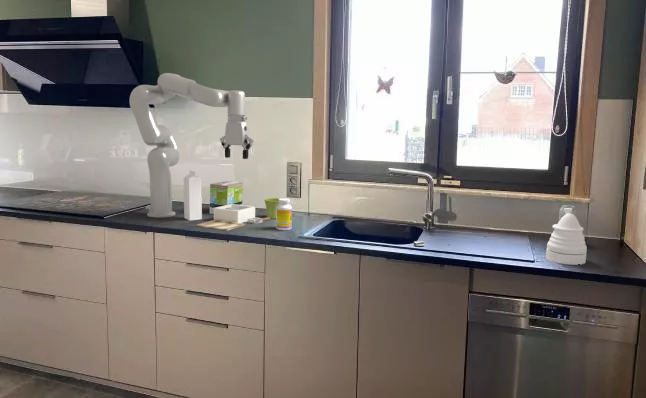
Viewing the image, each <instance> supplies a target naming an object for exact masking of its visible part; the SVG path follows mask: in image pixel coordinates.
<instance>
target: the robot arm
mask: <svg viewBox="0 0 646 398" xmlns="http://www.w3.org/2000/svg"><path fill="white" fill-rule="evenodd" d="M176 96H177V97H181V98H184V99H187V100H189V101H193V102H195V103H199V104H202V105H205V106H209V107H214V108H227V121H226V124H225V128H224V129H225V132H224V135H223V136H222V137H220V138H219V141H220V143H221V146H222V148H223V149H224V158H225V159H227V158H231V148H230V147H231V146H241V147H242V149H243V150H242V159H243V160H248V159H249V150H250V148H251V147H252V145H253V143H254V139H252V138H251V137H250V136H249V128H248V123H247V122H246V121H247V120H248V117H247V116H246V93H245V91H243V90H233V89H232V90H223V89H218V88H217V89H215V88H212V87H207V86H204V85H202V84H199V83H197V82H196V80H194V79H190V78H187V77H183V76H181V75H180V74H176V73H171V72H165V73H164V72H163V73H161V75H159V76H158V78H157V84H156V85H151V84H140V85H137V86H136V87H135V88H133V90H132V91H131V93H130V95H129V107H130V109H131V111H132V115H133V116H134V118H135V122H136V125H137V127H138V130H139V133H140V135H141V139H142V140H143V143H144V144H146V145H147V146H150V147H151V146H156V147H155V148H153V149H151V150H150V151H149V152H148V154H147V156H146V158H147V166H148V172H149V193H150V194H149V196H150V198H149V200H150V204H148V205H147V206H145V210H147V211H148V212H147V214H146V215H147V217H150V218H163V219H164V218H171V217H174V216H176V211H173V199H172V198H173V197H172V195H173V194H172V193H173V192H172V191H173V190H172V174H171V170H170V167H173V166H175V165H177V164H178V163H179V161H180V151H179V148H178V146H177V144H176V140H175V138H174V135H173V132H172V131H171V130H170V128H168V126H167V125H164V124H159V123H158V121H157V118H156V116H155V113H154V112H153V110H152V108H151V107H150V105H161V104H163V103H166V102H167V101H168V100H170V99H172V98H173V97H176Z"/></svg>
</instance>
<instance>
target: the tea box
mask: <svg viewBox="0 0 646 398" xmlns="http://www.w3.org/2000/svg"><path fill="white" fill-rule="evenodd" d="M243 188H244V185H243V181H241V182H240V181H232V180H231V181H230V180H224V181H220V182H219V181H218V182H213V183H209V214H210V215H211V214H213V215H214V208H216V207H221V206H225V205H230V204H235V205H243V191H244V189H243Z"/></svg>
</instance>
